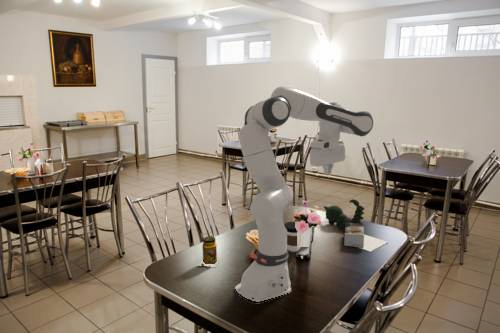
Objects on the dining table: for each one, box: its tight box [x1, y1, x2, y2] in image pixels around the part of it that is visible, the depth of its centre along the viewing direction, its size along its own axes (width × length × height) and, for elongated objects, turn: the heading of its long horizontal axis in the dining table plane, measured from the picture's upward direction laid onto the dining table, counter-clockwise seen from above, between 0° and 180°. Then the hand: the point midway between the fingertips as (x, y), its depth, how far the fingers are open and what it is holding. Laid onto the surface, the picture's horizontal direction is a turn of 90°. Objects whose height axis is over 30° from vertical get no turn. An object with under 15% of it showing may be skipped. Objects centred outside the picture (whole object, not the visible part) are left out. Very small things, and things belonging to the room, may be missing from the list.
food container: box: [311, 225, 317, 243], centre depth 186 cm, size 12×6×10 cm, turn 179°
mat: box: [357, 234, 389, 253], centre depth 182 cm, size 16×13×1 cm
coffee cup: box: [284, 221, 298, 253], centre depth 175 cm, size 11×11×12 cm
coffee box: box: [343, 222, 365, 248], centre depth 184 cm, size 9×6×16 cm
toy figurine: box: [323, 198, 365, 232], centre depth 201 cm, size 9×19×25 cm
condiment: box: [202, 235, 218, 264], centre depth 161 cm, size 7×8×12 cm
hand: (327, 173), depth 158 cm, fingers closed
